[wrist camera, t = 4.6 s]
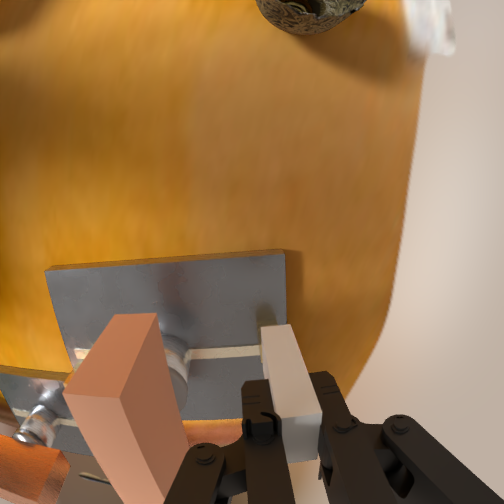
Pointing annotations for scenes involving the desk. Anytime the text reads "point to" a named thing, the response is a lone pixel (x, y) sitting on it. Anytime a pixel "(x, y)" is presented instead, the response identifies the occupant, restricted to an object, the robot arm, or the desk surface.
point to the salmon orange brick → (131, 408)
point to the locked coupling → (37, 436)
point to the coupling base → (182, 316)
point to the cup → (307, 14)
